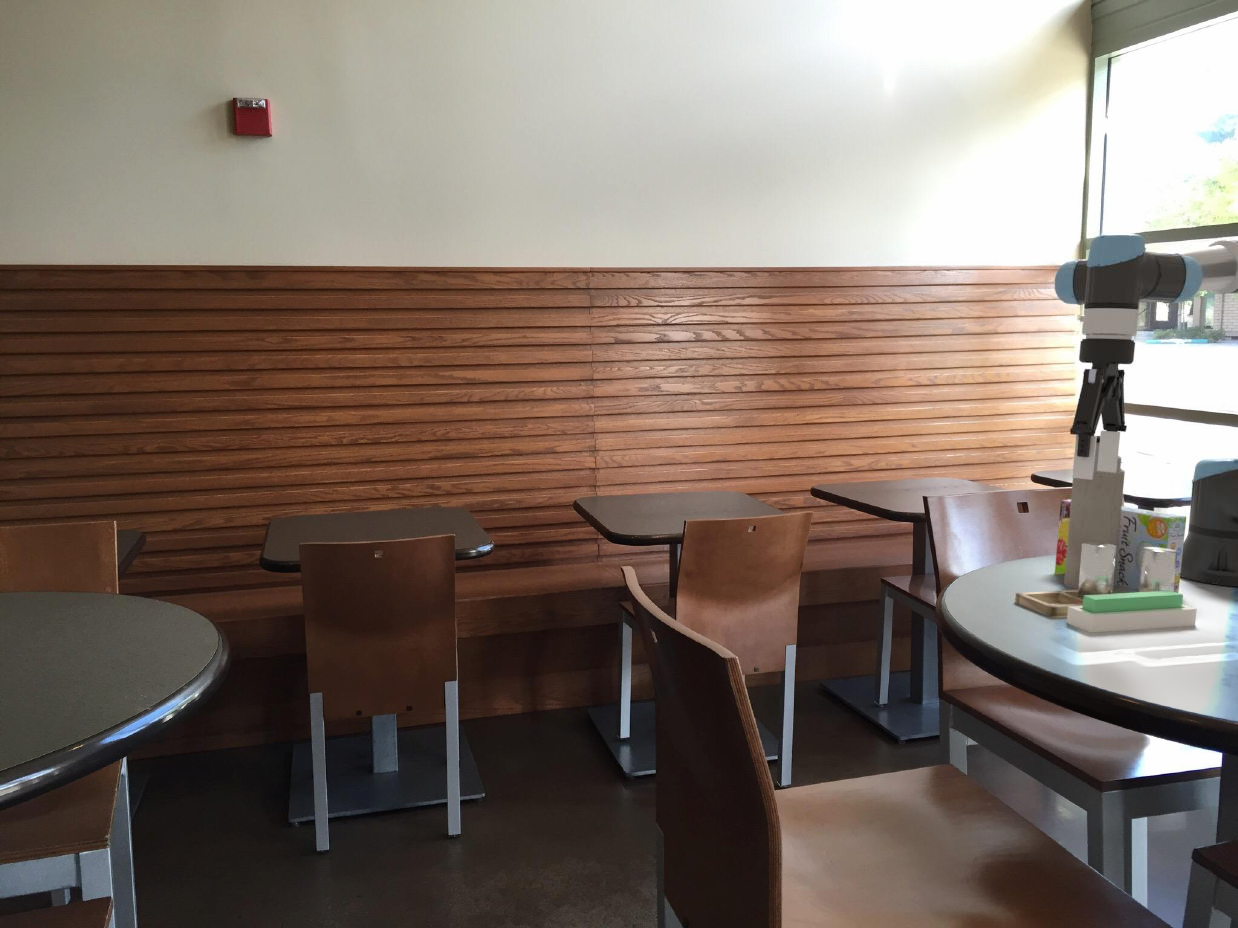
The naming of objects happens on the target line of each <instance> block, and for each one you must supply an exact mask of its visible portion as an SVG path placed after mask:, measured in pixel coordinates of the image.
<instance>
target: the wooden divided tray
mask: <svg viewBox="0 0 1238 928" xmlns="http://www.w3.org/2000/svg"><path fill="white" fill-rule="evenodd" d="M1012 602H1013V603H1016V604H1018V605H1021V606H1023V607H1025V608H1028V609H1030V610H1033V611H1035V612H1038V613H1041V614H1042V615H1045V616H1047V617H1050V618H1052V619H1063V618H1066V619H1067V613H1068V607H1069V606H1083V599H1081V598H1078V590H1077V589H1067V590H1065V589H1064V590H1052V591H1050V590H1049V591H1048V590H1047V591H1031V592H1015V597H1014V600H1012Z"/></svg>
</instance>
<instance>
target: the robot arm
mask: <svg viewBox="0 0 1238 928" xmlns="http://www.w3.org/2000/svg"><path fill="white" fill-rule="evenodd" d="M1146 250H1147V248H1146V239H1145V237H1144V236H1142V235H1140V234H1137V233H1135V234H1134V233H1108V234H1101V235H1097V236H1095V237H1093V238H1092V240H1091V241H1090V245H1089V253H1088V258H1080V259H1074V260H1068V261H1066V262H1065V263H1062V265H1061V266H1060V267H1059V268H1058V269H1057V272H1056V274H1055V276H1054V277H1055V278H1054V290H1055V294H1056V295H1057V298H1058V299H1059V300H1060V301H1062V302H1063V303H1064V304H1067V305H1078V306H1081V305H1082V306H1083V308H1084V309H1083V314H1082V315H1080V316H1079V319H1078V320H1079V322H1082V325H1081V328H1082V329H1081V334H1082V335H1083V336H1085V338H1082V339H1081V340H1080V345H1079V357H1078V360H1079V362H1081V363H1083V364H1085V363H1086V364H1091V365H1092V366H1091V368H1084V371H1083V376H1082V385H1081V389H1080V394H1079V398H1078V402H1077V406H1076V411H1075V414H1074V419H1073V423H1072V425H1071V427H1070V429H1069V434H1070V435H1075V444H1074V445H1075V447H1074V454H1073V465H1072V467H1073V468H1072V476H1071V478H1072V479H1073V478H1080V479H1089V480H1092V479H1093V472H1094V462H1095V451H1096V441H1097V436H1098V435H1095V434H1096V431H1097V428H1098V425H1099V422H1100V418H1101V421H1102V429H1103V430H1100V435H1099V436H1100V444H1099V455H1098V465H1097V471H1104V472H1113V473H1116V471H1117V461H1118V456H1119V449H1120V441H1121V440H1120V437H1121V432H1123V433H1126V431H1127V425H1126V421H1125V420H1126V419H1125V389H1124V387H1125V385H1124V383H1125V374H1126V372H1125V370H1124V369H1119V365H1131V364H1132V363H1134V359H1135V358H1134V357H1135V349H1136V348H1135V347H1136V342H1135V340H1133V339H1132V337H1135V336H1137V332H1138V321H1139V311H1140V310H1139V309H1140V307H1139V306H1140V303H1162V304H1174V303H1176V304H1178V303H1184V302H1187V301H1189V300H1191V299H1192V298H1193V297H1194V296H1195V295H1196V294H1197V293H1199V292H1205V291H1208V292H1210V293H1212V294H1216V295H1227V294H1238V237H1237V238H1230V239H1222V240H1218V241H1217V240H1216V241H1215V242H1213V243H1210V244H1209V245H1208V246H1206V247H1198V248H1196V247H1195V248H1189V249H1178V250H1177V249H1175V250H1168V251H1159V252H1157V251H1156V252H1154V251H1146ZM1191 483H1192V486H1191V495H1190V496H1191V497H1190V499H1191V500H1190V508H1189V509H1190V511H1189V517H1188V518H1189V520H1188V531H1187V536H1186V537H1185V538H1184V544H1183V554H1182V563H1181V573H1180V578H1181V577H1182V578H1185V579H1188V580H1192V581H1194V582H1200V583H1205V584H1212V585H1218V586H1227V587H1238V458H1212V459H1211V458H1210V459H1208V458H1207V459H1201V460H1200V461H1198V462H1197V463H1196V465H1195V466H1194V472H1193V479H1191Z"/></svg>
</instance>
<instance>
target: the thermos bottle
mask: <svg viewBox="0 0 1238 928" xmlns="http://www.w3.org/2000/svg"><path fill="white" fill-rule="evenodd" d="M1096 436H1097V441H1096V451H1095V462H1094V472H1093V479H1092V480H1089V479H1080V478H1072V481H1071V483H1072V484H1071V495H1070V499H1071V506H1070V519H1069V531H1068V548H1067V556H1066V567H1065V574H1064V580H1063V581H1064V583H1063V584H1064V586H1065V587H1067V588H1071V589H1072V590H1078V588H1079V576H1080V564H1081V552H1082V543H1084V542H1099V543H1107V544H1111V545H1115V546H1116V547H1117V548H1116V559H1115V571H1114V582H1113V592H1114V591H1115V575H1116V564H1117V553H1118V535H1119V528H1120V519H1121V508H1122V506H1123V505H1122V504H1123V497H1124V496H1123V494H1124V487H1125V486H1124V483H1125V473H1126V472H1125V470H1124V469H1122V467H1121V464H1122V463H1123V462H1122V457H1121V456H1120V455H1118V461H1117V471H1116V473H1113V472H1104V471H1097V465H1098V455H1099V444H1100V435H1096Z"/></svg>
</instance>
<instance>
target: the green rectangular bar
mask: <svg viewBox="0 0 1238 928" xmlns="http://www.w3.org/2000/svg"><path fill="white" fill-rule="evenodd" d="M1183 597H1184V593H1183V594H1182V593H1179V592H1178V593H1177V592H1173V591H1154V592H1138V591H1137V592H1136V591H1135V592H1124V593H1123V592H1120V593H1119V592H1118V593H1113V594H1101V595H1084V597H1083V609H1082V610H1085V611H1088V612H1090V613H1108V612H1124V611H1140V610H1156V609H1172V608H1182V604H1183Z"/></svg>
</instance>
